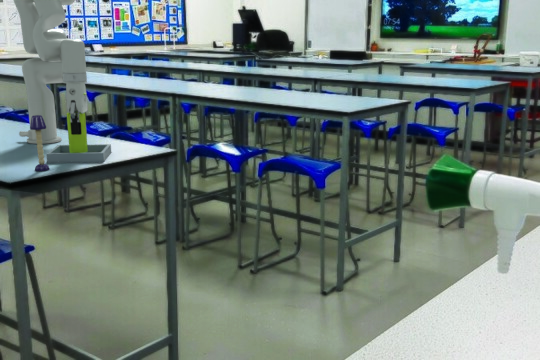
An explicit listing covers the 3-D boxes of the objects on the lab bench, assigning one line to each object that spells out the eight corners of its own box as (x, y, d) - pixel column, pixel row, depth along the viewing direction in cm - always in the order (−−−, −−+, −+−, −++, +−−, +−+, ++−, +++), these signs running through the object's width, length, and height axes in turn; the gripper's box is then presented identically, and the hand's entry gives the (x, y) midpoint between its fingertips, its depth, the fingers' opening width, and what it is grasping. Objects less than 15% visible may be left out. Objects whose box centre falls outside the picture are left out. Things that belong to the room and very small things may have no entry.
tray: (46, 162, 194) (46, 153, 193) (58, 153, 210) (57, 145, 209) (103, 162, 196) (103, 153, 195) (111, 152, 211) (110, 144, 211)
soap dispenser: (85, 153, 199) (80, 93, 194) (66, 152, 200) (61, 92, 195) (93, 150, 204) (89, 91, 200) (75, 149, 206) (70, 90, 201)
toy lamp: (30, 170, 183) (25, 116, 179) (41, 167, 188) (36, 114, 184) (43, 171, 182) (38, 116, 178) (53, 168, 186) (49, 115, 182)
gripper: (81, 80, 189) (85, 137, 193) (91, 76, 205) (94, 128, 210) (56, 80, 188) (61, 137, 192) (68, 76, 205) (72, 128, 209)
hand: (78, 132), depth 201 cm, fingers closed on soap dispenser, 5 cm apart
